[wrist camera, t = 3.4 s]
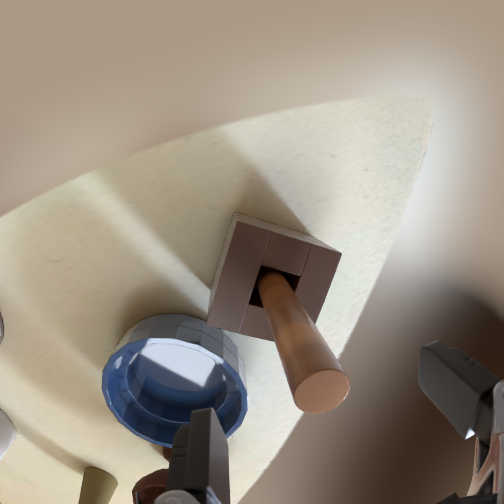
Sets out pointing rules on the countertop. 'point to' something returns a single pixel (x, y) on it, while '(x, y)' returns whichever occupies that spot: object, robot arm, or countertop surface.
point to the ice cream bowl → (152, 484)
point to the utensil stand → (273, 256)
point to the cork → (97, 486)
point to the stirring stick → (301, 347)
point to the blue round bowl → (174, 377)
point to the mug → (6, 434)
